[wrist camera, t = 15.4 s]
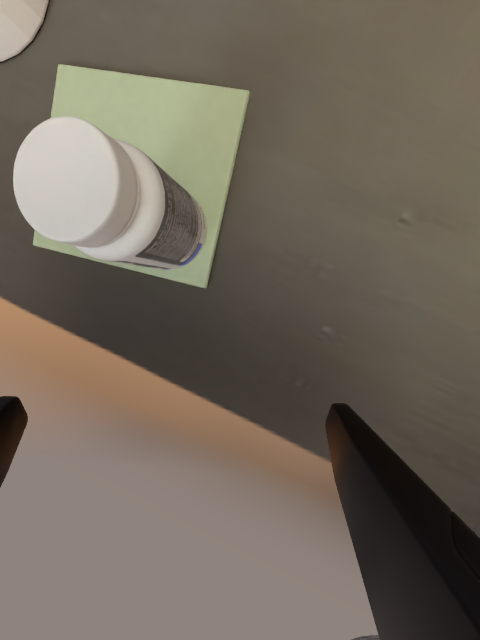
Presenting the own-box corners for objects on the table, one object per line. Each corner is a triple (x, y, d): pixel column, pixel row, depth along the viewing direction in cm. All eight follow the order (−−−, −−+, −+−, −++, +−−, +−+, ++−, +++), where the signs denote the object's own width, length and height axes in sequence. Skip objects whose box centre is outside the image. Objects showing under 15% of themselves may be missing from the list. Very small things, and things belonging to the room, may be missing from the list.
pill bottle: (192, 175, 17) (99, 72, 9) (219, 253, 18) (151, 220, 9) (122, 207, 18) (-19, 140, 10) (148, 281, 19) (30, 273, 10)
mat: (206, 288, 18) (205, 288, 18) (37, 246, 20) (32, 245, 20) (250, 94, 17) (248, 90, 17) (63, 68, 19) (58, 63, 18)
